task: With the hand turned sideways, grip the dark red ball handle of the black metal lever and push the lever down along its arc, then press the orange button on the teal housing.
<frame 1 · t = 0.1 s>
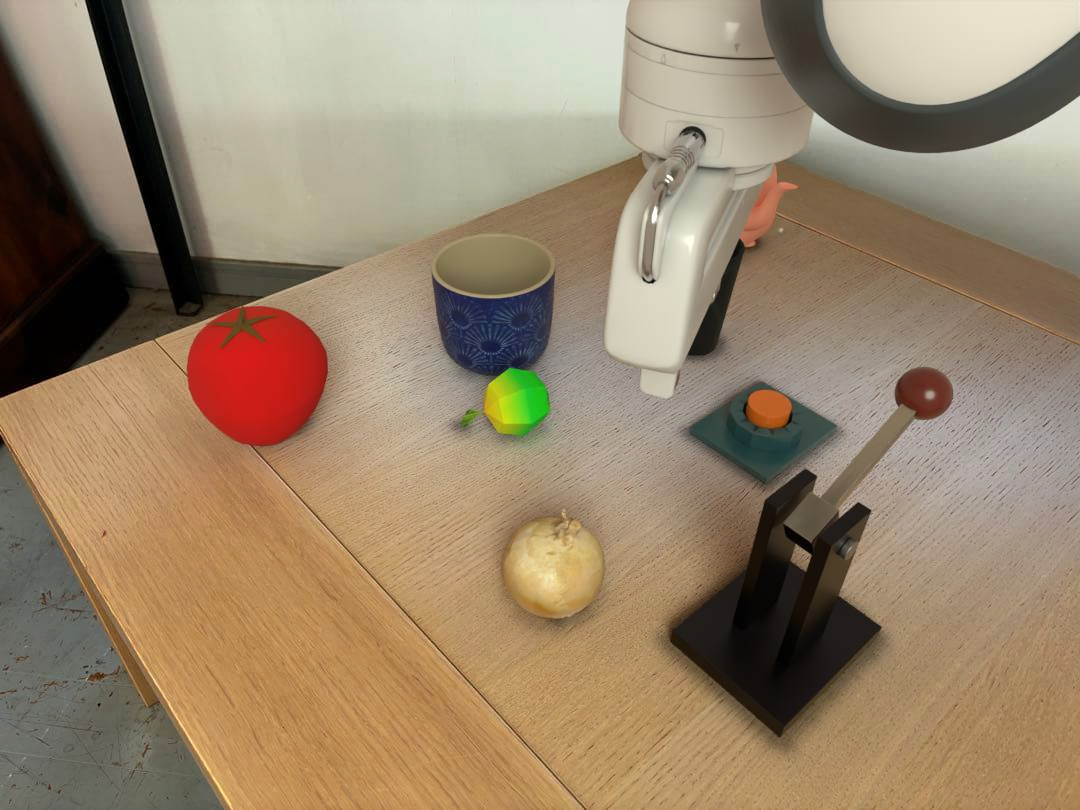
hand: (681, 339, 47), 26 cm above the table, tool pointing down, fingers open, 8 cm apart
tomato: (273, 426, 80), on the table
button: (768, 409, 78), point 3 cm above the table, slide at 0.1 cm
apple: (506, 430, 80), on the table
planter: (496, 352, 89), on the table
cup: (691, 342, 91), on the table
teapot: (711, 241, 108), on the table
onion: (552, 591, 65), on the table
button box: (762, 431, 80), on the table
bracket: (773, 640, 62), on the table
lever: (870, 455, 55), point 16 cm above the table, hinge at 25.0°
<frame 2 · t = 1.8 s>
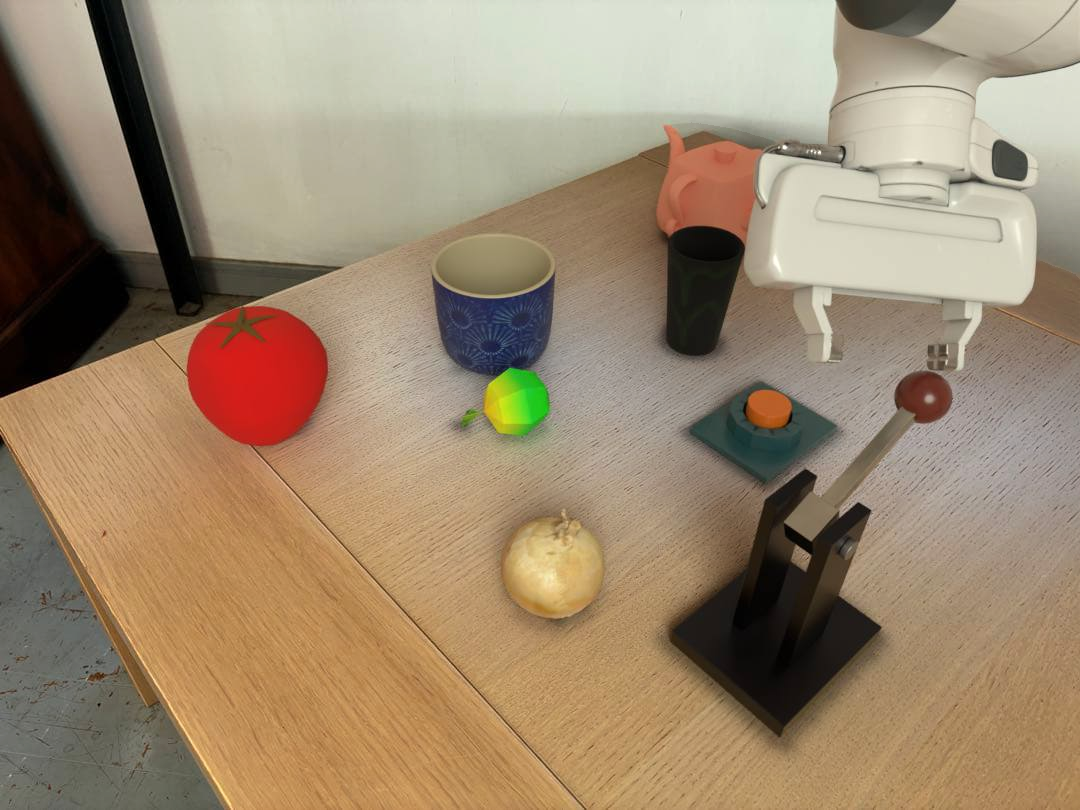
hand: (885, 367, 54), 20 cm above the table, tool tilted 40°, fingers open, 8 cm apart
lever: (870, 456, 55), point 15 cm above the table, hinge at 22.8°
everything else where it was.
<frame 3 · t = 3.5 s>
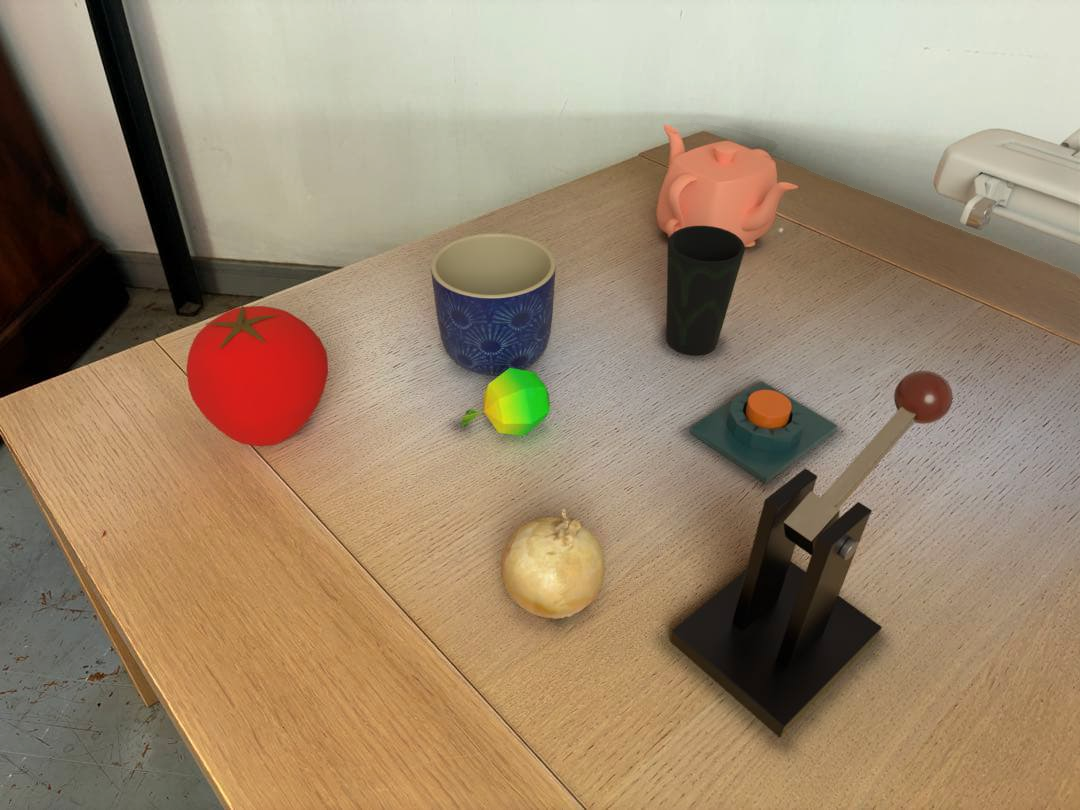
hand: (1039, 242, 56), 26 cm above the table, tool horizontal, fingers open, 8 cm apart
nothing on the table moved.
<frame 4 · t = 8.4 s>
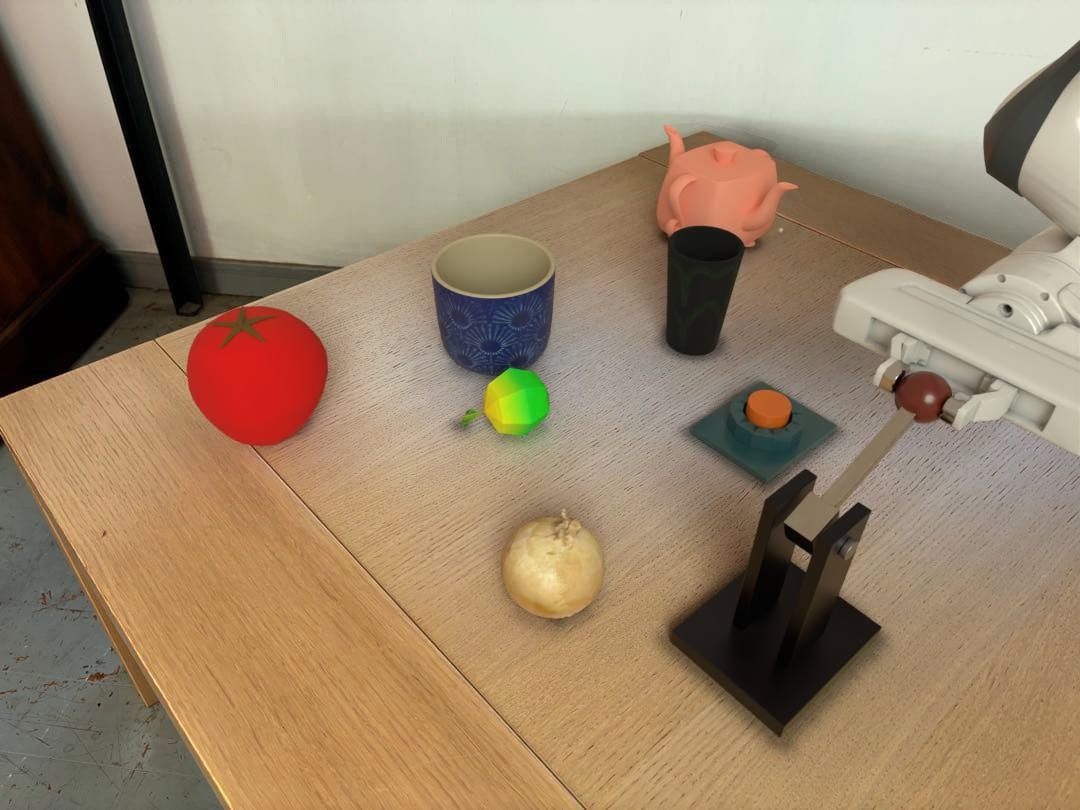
hand: (916, 399, 55), 18 cm above the table, tool horizontal, fingers closed on lever, 3 cm apart
lever: (870, 456, 55), point 15 cm above the table, hinge at 22.7°, touching gripper
everything else where it was.
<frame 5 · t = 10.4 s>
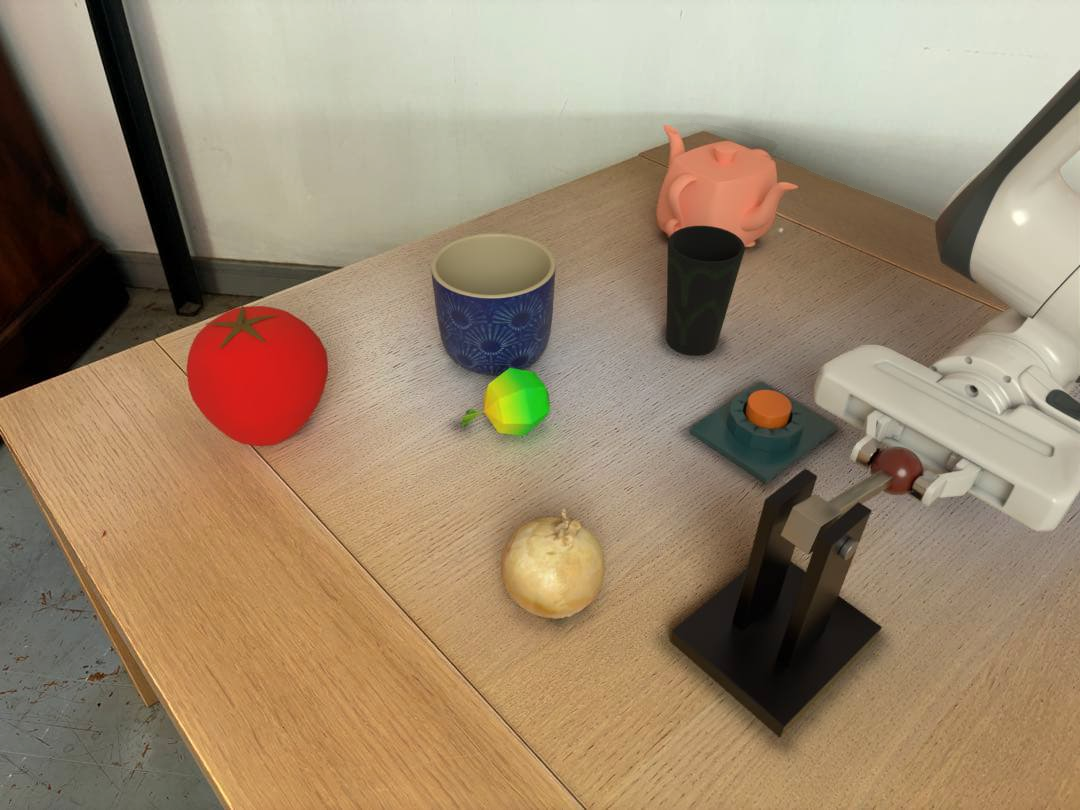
hand: (889, 476, 60), 10 cm above the table, tool horizontal, fingers closed on lever, 3 cm apart
lever: (858, 494, 57), point 12 cm above the table, hinge at -13.3°, touching gripper
everything else where it was.
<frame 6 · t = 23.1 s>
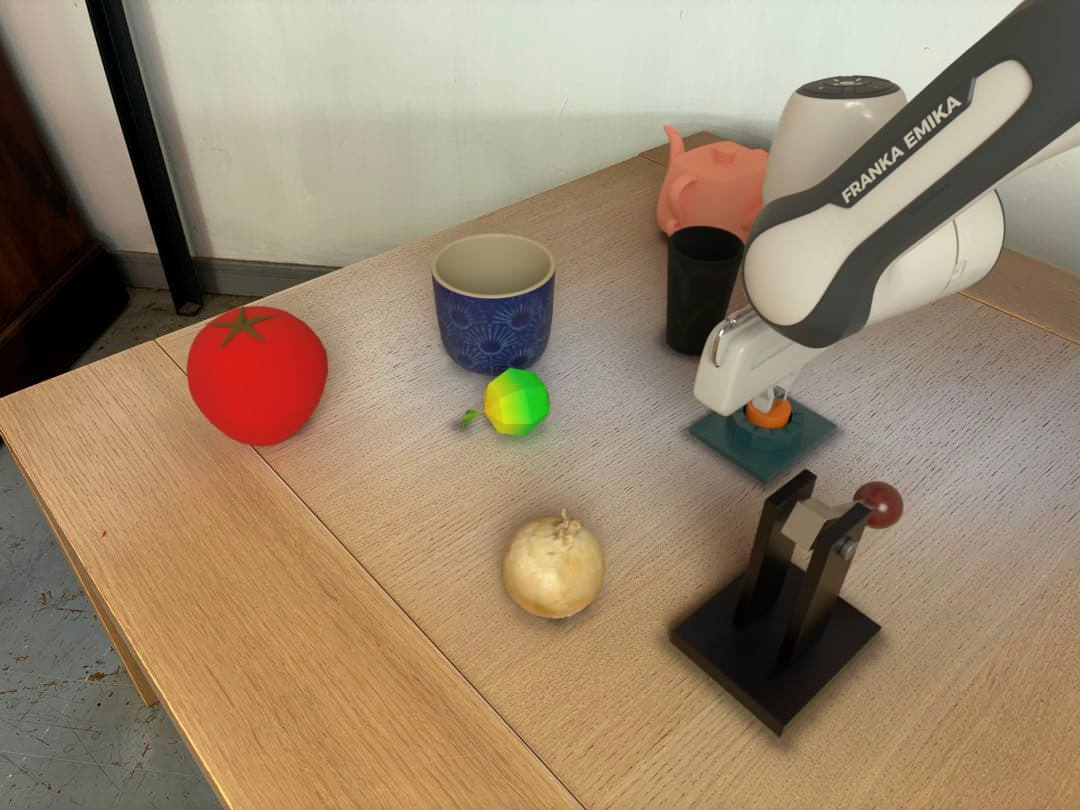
hand: (768, 404, 77), 3 cm above the table, tool pointing down, fingers closed, pressing on button
button: (767, 411, 78), point 3 cm above the table, slide at -0.1 cm, touching gripper
lever: (848, 513, 58), point 10 cm above the table, hinge at -28.3°
everything else where it was.
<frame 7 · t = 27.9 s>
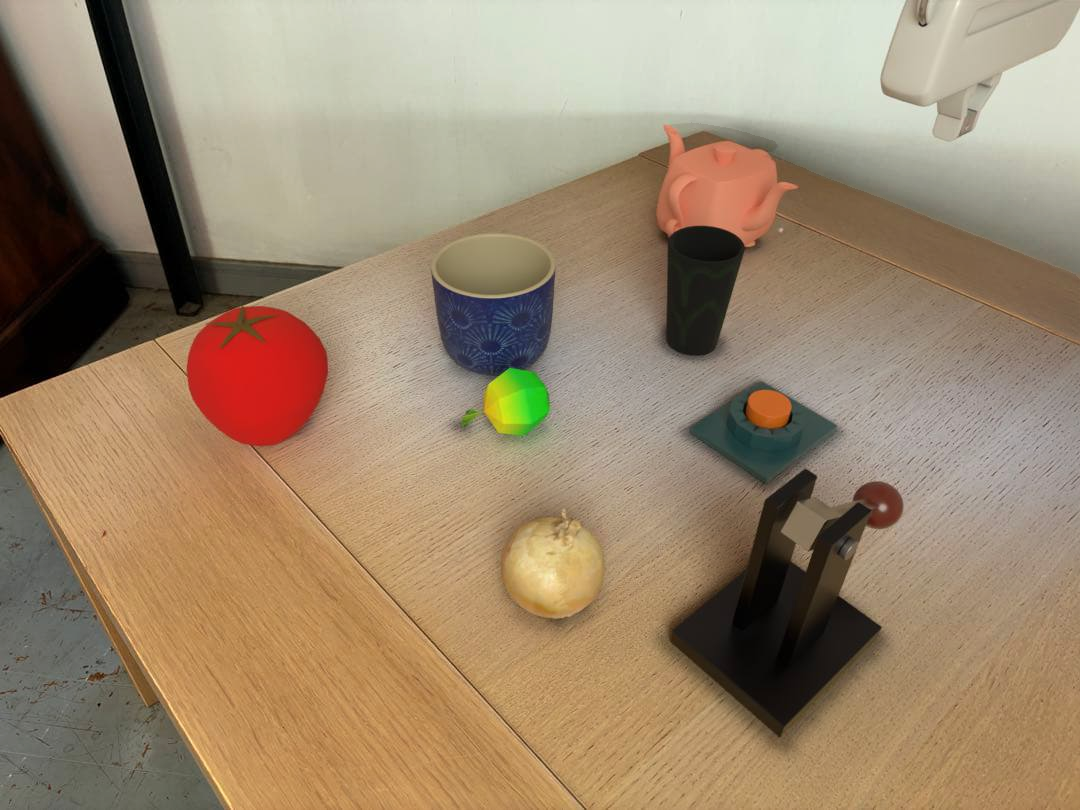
hand: (951, 134, 61), 29 cm above the table, tool pointing down, fingers closed
button: (768, 409, 78), point 3 cm above the table, slide at 0.1 cm
everything else where it was.
at the end: lever at -28° (first picture: +25°); button pushed in 1.0 cm at the most during the clip, back to where it started at the end; button slide at 0.1 cm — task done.
